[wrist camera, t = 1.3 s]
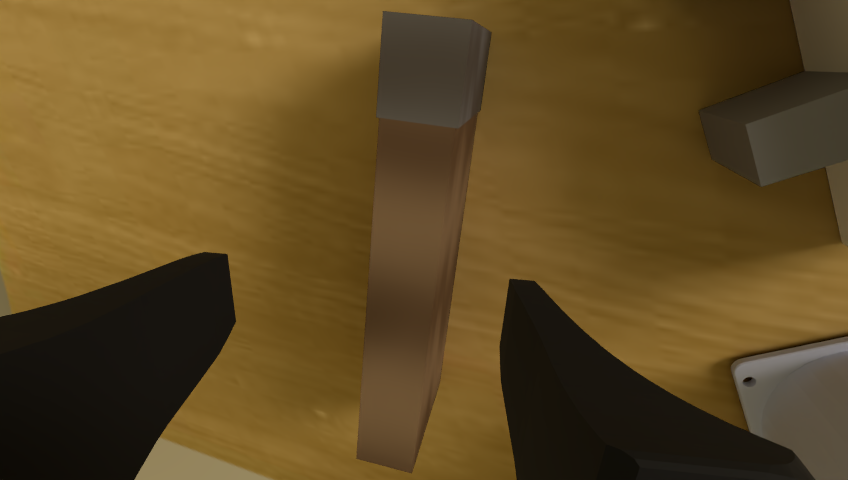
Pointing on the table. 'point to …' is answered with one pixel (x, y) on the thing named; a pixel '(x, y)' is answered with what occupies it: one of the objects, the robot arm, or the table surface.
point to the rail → (416, 222)
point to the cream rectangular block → (794, 112)
